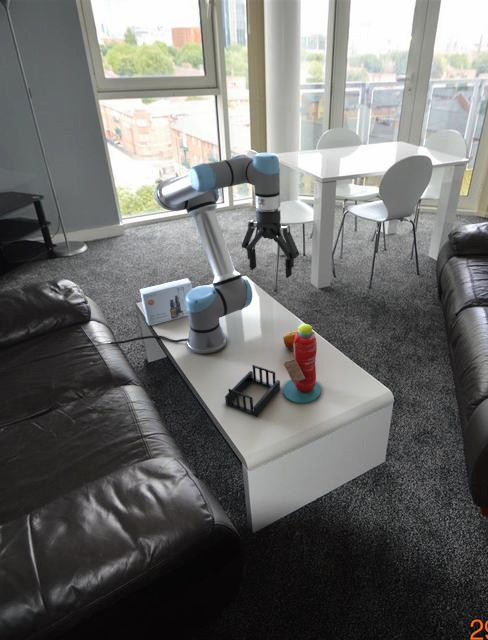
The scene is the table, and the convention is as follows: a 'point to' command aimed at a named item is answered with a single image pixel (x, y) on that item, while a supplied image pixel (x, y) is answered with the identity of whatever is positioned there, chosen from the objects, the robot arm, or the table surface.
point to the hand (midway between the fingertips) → (270, 272)
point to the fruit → (290, 339)
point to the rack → (259, 405)
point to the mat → (300, 393)
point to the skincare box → (165, 301)
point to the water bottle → (303, 359)
